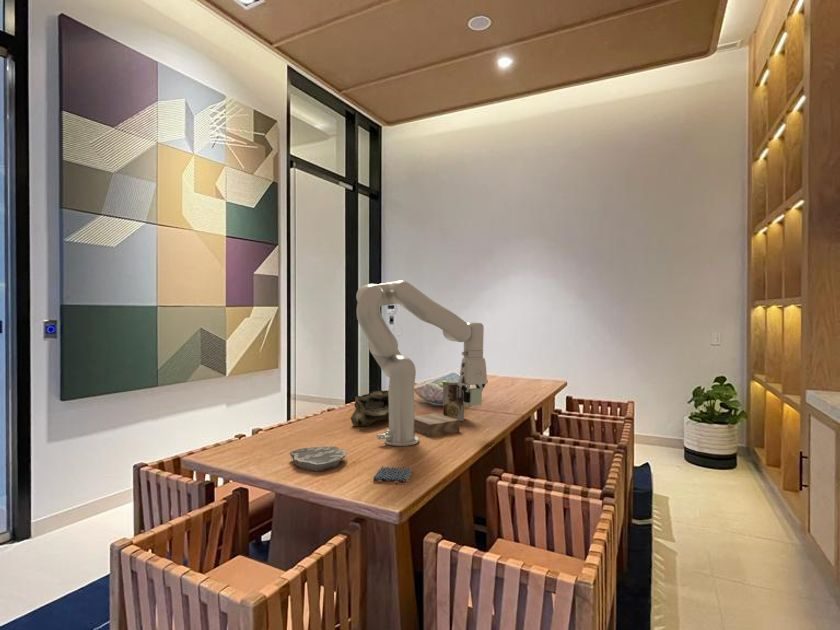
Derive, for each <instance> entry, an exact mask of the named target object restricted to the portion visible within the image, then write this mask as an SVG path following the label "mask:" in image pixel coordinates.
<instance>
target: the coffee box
mask: <svg viewBox="0 0 840 630" xmlns="http://www.w3.org/2000/svg"><path fill="white" fill-rule="evenodd" d="M457 382H458V381H456V382H453V381H452V382H451V381H449V382H443V383H442V395H443V396H442V399H443V400H442V407H443V408H442V410H443V414H442V415H445V416H448V417H451V418H455V419H458V420H459V422H464V421H465V409H464V408H465V407H464V406H465V404H464V403H463V391H462V389H461V388H460V387H459V386H458V385H457ZM462 384H463V383H462Z"/></svg>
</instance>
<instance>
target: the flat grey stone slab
mask: <svg viewBox="0 0 840 630" xmlns="http://www.w3.org/2000/svg"><path fill="white" fill-rule="evenodd" d="M347 453H348V452H347V450H346V449H341V448H339V447H338V446H337V447H336V446H315V447H314V446H313V447H304V448H303V447H302V448H299V449H296V450H292V451H290V452H289V455H290V458H292V460H293V462H294V463H295V465H296V466H297V467H298V468H299V469H302V470H307V471H311V472H322V471H324V470H328V469H329V470H330V469H335V468H336V467H338V466H339V464H340V462H341V461H343V460H344V458H345V457H346V455H347Z"/></svg>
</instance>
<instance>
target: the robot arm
mask: <svg viewBox="0 0 840 630" xmlns="http://www.w3.org/2000/svg"><path fill="white" fill-rule="evenodd" d="M356 301H357V304H356V319H357V321H358V324H359V327H360V328H361V329H362V332H363V333H364V335H365V337H366V338H367V347H368V350H369V352H370V353H371V355H372V356H373V358H374V360H375V362H376V363H377V364H378V366H379V367H380V370H382V373H384V374H385V376H387V377H388V378H389V383H388V390H387V391H388V400H389V418H388V429H386V430H385V432H384V433H378V434H377V435H376V438H377V440H379V441H381V440H384V443H385V444H386V445H389V446H395V447H407V446H413V445H416V444H418V443H419V442H420V439H419V437H418V436H417V435H415V434H416V433H415V432H416V431H415V421H414V416H415V385H416V384H415V382H416V373H417V372H416V365H415V363H414V362H413V360H412V359H410V358H409V357H408V356H405V355H402V354H401V351H400V350H399V349H398V348H399V342H398V340H397V338H396V337H395V335H394V333H393V332H392V331H391V329H390V327H389V326H388V325H387V323H386V321H385V320H384V318H383V316H382V314H381V307H382V306H383V307H385V306H388V305H389V306H390V305H397V304H398V305H400V306H401V307H403V308H404V309H405V310H407V311H408V312H410V314H412V315H413V316H415V317H416V318H417V319H419V320H421V321H422V322H425V323H427V324H430V325H433V326H435V327H437V328H439V329H440V330H441V331H442V334H443V337H444V338H445V339H446V340H449V341H451V342H456V343H457V342H458V343H463V351H462V352H461V355H462V356H463V357H462V358H461V363H460V370H459V371H460V372H459V373H460V374H459V379H458V380H457V381H456V382H457V385H458V386H459V387H460V388H461V389H462V391H463V401H464V402H467V403H470V392H469V389H470V387H471V386H474V385H475V386H474V387H476V388H480V389H482V392H483V391H484V388H485V387H486V385H487V384H488V383H489V381H488V377H487V365H486V364H487V363H486V359H485V357H484V331H485V330H484V324H483V323H481V322H466V321H465V320H463V319H462V318H461V317H460V316H458V315H457V314H455V313H454V312H452V311H451V310H449V309H448V308H446V307H444V306H442V305H441V304H439V303H438V302H437V301H434V300H432V298H430V297H428V296H427V295H426V294H425V293H423V292H422V291H420V290H419V289H418V288H417V287H415V286H414V285H413V284H412V283H410V282H408V281H406V280H402V279H401V280H396V281H390V282H385V283H379V284H377V283H369V284H366V285H362V286H361V287H360V288H358V290H357V292H356ZM462 383H463V384H462Z"/></svg>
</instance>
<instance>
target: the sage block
mask: <svg viewBox="0 0 840 630" xmlns="http://www.w3.org/2000/svg"><path fill="white" fill-rule="evenodd" d="M469 392H470V403H467V402H464V401H463V403H464V405H467V406H478V405H482V399H483V397H482V396H483V395H482V394H483V393H482V392H483V391H482V389H480V388H476V386H472V387H471V386H470V389H469Z"/></svg>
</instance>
